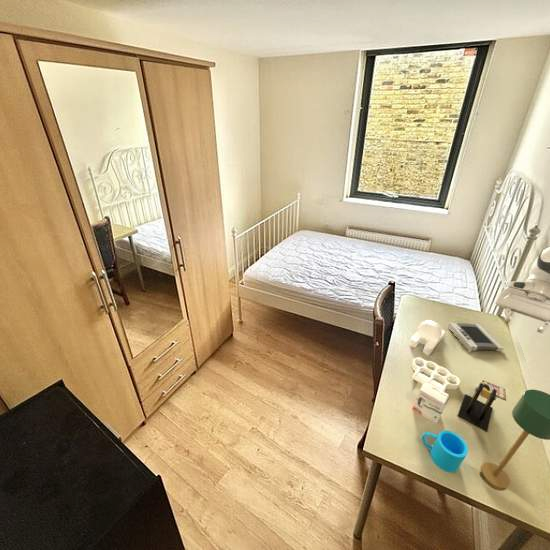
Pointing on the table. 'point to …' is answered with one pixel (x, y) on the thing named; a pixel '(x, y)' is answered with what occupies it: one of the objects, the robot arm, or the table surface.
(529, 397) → the desk lamp
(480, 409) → the switch bracket
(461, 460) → the mug
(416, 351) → the table surface
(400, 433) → the table surface
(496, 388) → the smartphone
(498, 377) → the table surface
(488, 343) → the alarm clock
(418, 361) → the white brass knuckles
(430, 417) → the ink box
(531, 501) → the table surface
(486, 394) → the switch lever
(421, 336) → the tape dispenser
